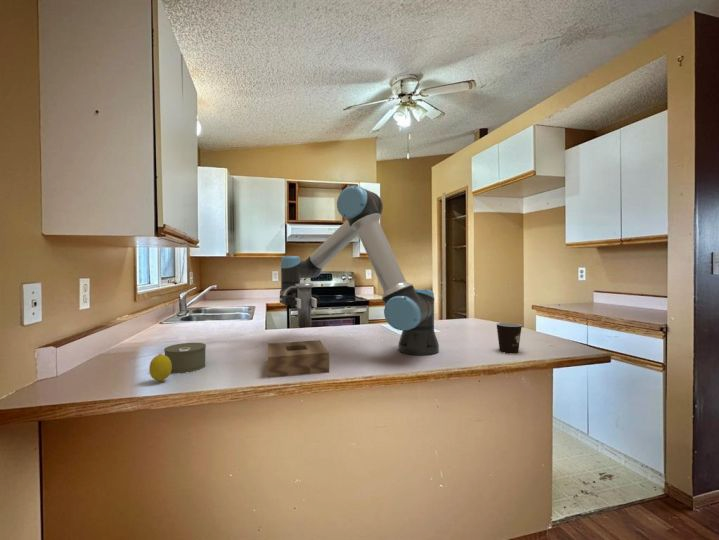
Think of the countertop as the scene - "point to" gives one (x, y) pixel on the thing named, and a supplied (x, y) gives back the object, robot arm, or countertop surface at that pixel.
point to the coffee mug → (509, 337)
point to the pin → (304, 304)
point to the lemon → (160, 367)
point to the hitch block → (297, 358)
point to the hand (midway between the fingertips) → (307, 303)
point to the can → (186, 357)
